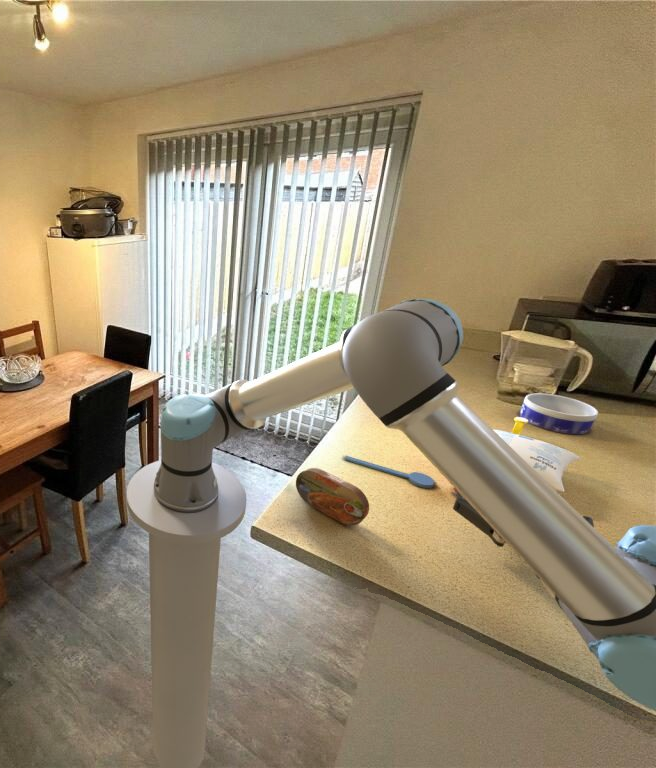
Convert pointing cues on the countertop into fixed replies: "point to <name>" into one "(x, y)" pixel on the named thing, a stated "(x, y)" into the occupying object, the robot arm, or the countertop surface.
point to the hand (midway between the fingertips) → (497, 487)
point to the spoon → (398, 473)
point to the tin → (332, 496)
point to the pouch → (541, 457)
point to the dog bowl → (558, 413)
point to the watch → (519, 425)
